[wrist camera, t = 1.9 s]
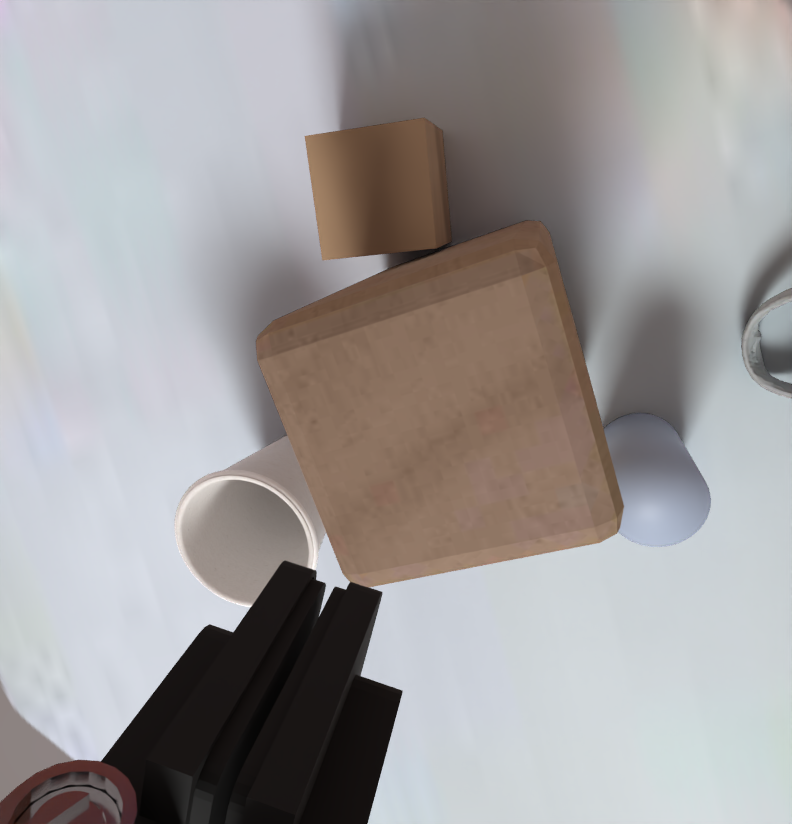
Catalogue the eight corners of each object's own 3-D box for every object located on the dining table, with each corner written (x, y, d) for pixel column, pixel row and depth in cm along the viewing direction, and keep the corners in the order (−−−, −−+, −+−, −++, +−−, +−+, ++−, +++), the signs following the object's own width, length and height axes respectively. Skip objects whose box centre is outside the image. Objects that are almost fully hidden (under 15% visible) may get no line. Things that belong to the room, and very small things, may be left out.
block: (380, 270, 39) (233, 335, 20) (544, 213, 36) (546, 228, 18) (432, 422, 41) (342, 604, 23) (590, 380, 38) (635, 549, 20)
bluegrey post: (695, 427, 38) (727, 474, 31) (663, 500, 40) (687, 559, 33) (611, 403, 39) (625, 444, 32) (583, 476, 40) (591, 529, 34)
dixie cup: (388, 465, 43) (346, 538, 34) (321, 547, 46) (266, 636, 37) (288, 388, 43) (217, 441, 33) (228, 476, 46) (148, 547, 36)
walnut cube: (442, 130, 36) (424, 117, 30) (452, 241, 38) (436, 248, 32) (340, 145, 37) (304, 136, 32) (353, 251, 39) (322, 260, 34)
